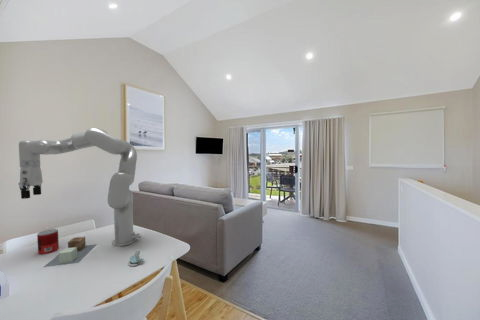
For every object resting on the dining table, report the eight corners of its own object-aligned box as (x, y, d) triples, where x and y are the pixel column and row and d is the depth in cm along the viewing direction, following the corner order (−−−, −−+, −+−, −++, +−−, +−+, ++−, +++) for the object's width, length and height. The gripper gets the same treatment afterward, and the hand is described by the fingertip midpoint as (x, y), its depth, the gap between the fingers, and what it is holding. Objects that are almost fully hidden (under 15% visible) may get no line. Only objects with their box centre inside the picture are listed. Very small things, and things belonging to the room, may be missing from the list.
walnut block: (85, 246, 112) (85, 236, 111) (80, 250, 106) (79, 240, 106) (74, 247, 110) (73, 237, 110) (68, 252, 105) (67, 242, 105)
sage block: (77, 256, 100) (76, 247, 100) (71, 262, 95) (71, 251, 95) (65, 258, 99) (65, 248, 99) (59, 263, 94) (58, 253, 94)
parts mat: (97, 244, 114) (97, 244, 114) (78, 263, 95) (78, 262, 95) (68, 247, 111) (68, 247, 111) (42, 268, 91) (42, 267, 91)
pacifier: (133, 268, 90) (145, 262, 95) (132, 255, 90) (144, 249, 95) (124, 264, 94) (137, 258, 99) (123, 251, 94) (136, 245, 99)
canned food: (62, 248, 110) (61, 228, 110) (47, 255, 102) (46, 234, 102) (50, 247, 111) (49, 228, 111) (34, 255, 103) (33, 234, 103)
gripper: (29, 164, 98) (30, 199, 99) (48, 163, 114) (49, 192, 115) (8, 165, 96) (10, 200, 96) (31, 163, 112) (32, 193, 112)
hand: (31, 196), depth 106 cm, fingers open, 9 cm apart
